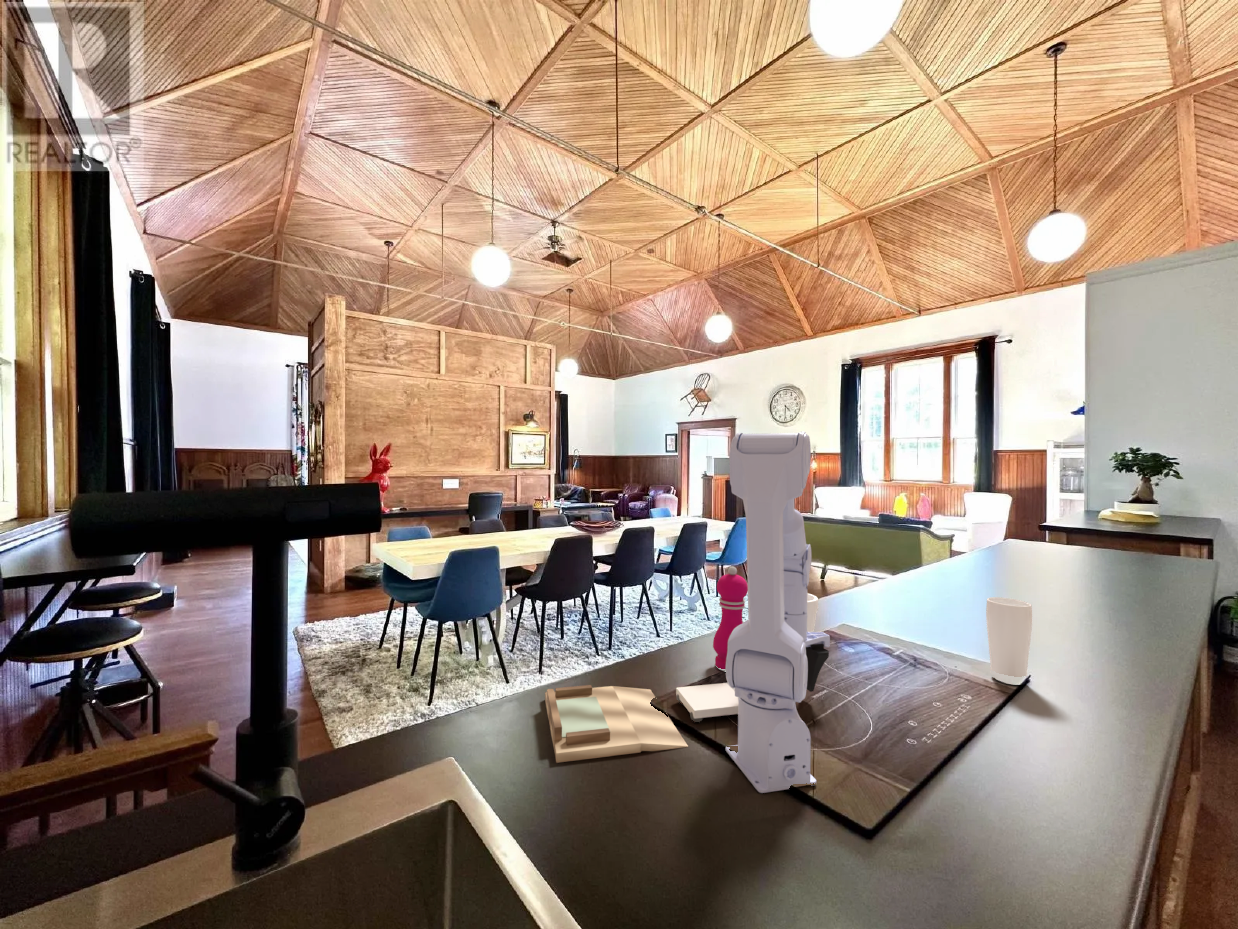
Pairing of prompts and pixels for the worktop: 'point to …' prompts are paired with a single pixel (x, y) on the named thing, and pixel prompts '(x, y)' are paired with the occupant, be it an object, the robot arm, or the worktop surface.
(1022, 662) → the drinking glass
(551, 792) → the worktop surface
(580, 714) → the dock
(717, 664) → the pepper mill
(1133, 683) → the worktop surface
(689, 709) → the white tabbed block
